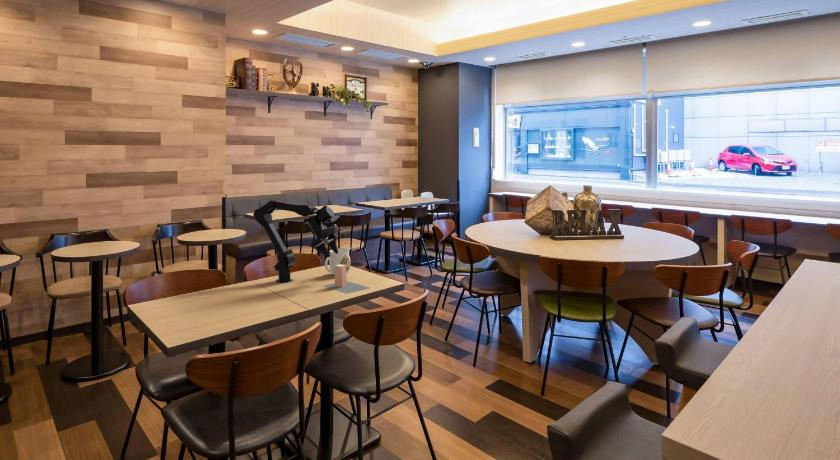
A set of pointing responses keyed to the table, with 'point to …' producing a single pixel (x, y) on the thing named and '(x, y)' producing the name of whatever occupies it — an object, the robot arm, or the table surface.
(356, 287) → the mat
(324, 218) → the robot arm
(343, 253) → the pitcher
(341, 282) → the block
